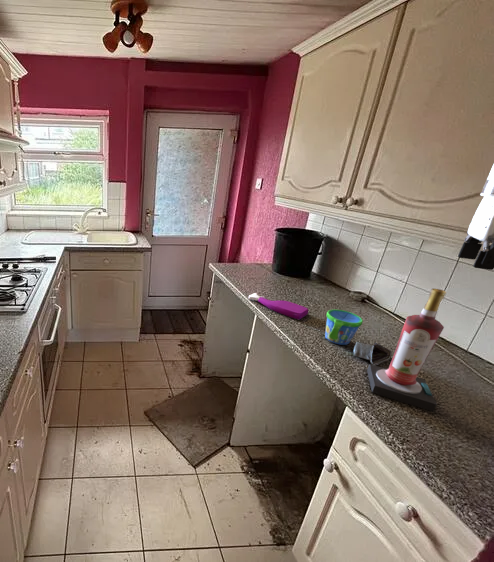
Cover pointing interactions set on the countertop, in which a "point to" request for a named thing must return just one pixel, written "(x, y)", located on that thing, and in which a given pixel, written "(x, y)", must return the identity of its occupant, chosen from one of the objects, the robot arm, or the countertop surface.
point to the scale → (401, 389)
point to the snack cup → (341, 326)
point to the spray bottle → (282, 307)
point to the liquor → (416, 341)
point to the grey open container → (372, 352)
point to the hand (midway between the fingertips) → (474, 263)
